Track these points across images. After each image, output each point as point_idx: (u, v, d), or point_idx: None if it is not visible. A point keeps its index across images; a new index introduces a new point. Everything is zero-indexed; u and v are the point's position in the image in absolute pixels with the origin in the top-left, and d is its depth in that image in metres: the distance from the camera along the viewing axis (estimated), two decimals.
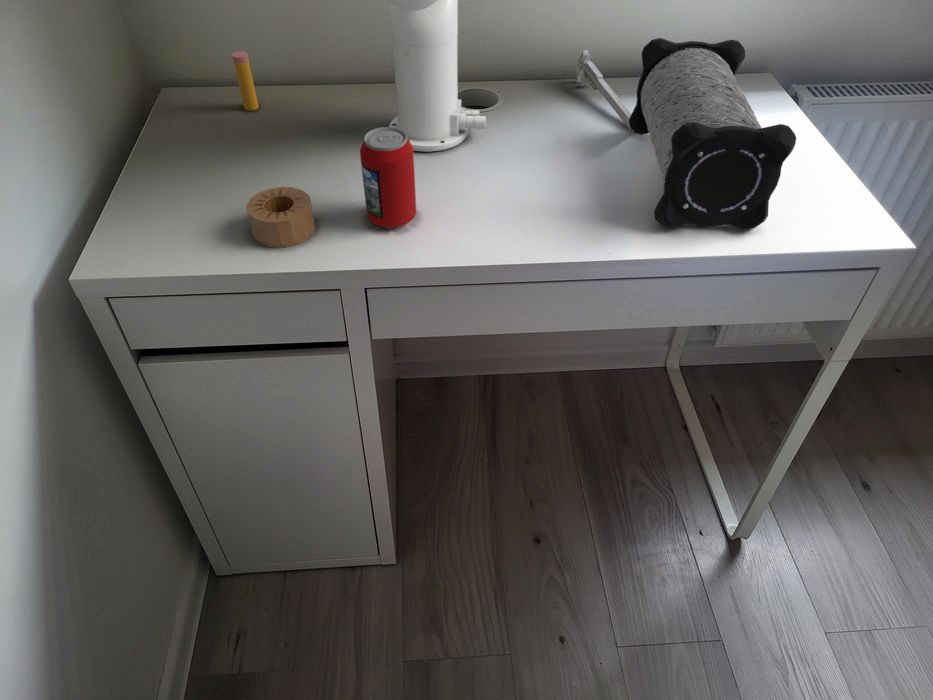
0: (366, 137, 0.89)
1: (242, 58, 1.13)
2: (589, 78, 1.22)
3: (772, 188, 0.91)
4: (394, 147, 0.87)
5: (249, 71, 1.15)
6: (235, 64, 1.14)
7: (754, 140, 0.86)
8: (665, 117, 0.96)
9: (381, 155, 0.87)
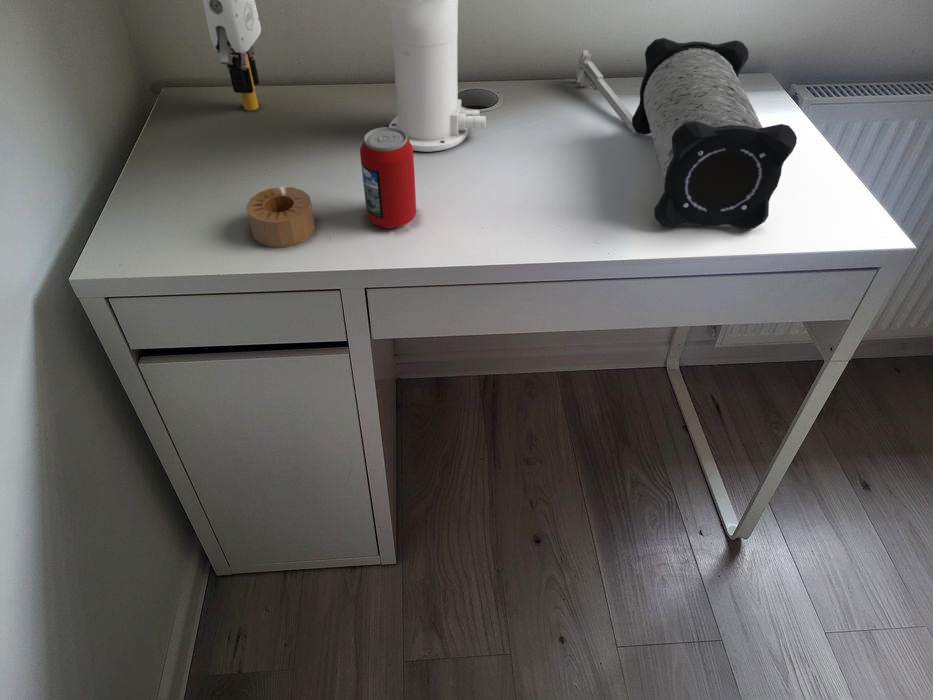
0: (366, 137, 0.89)
1: None
2: (589, 78, 1.22)
3: (772, 188, 0.91)
4: (394, 147, 0.87)
5: None
6: None
7: (754, 139, 0.86)
8: (667, 116, 0.96)
9: (381, 155, 0.87)
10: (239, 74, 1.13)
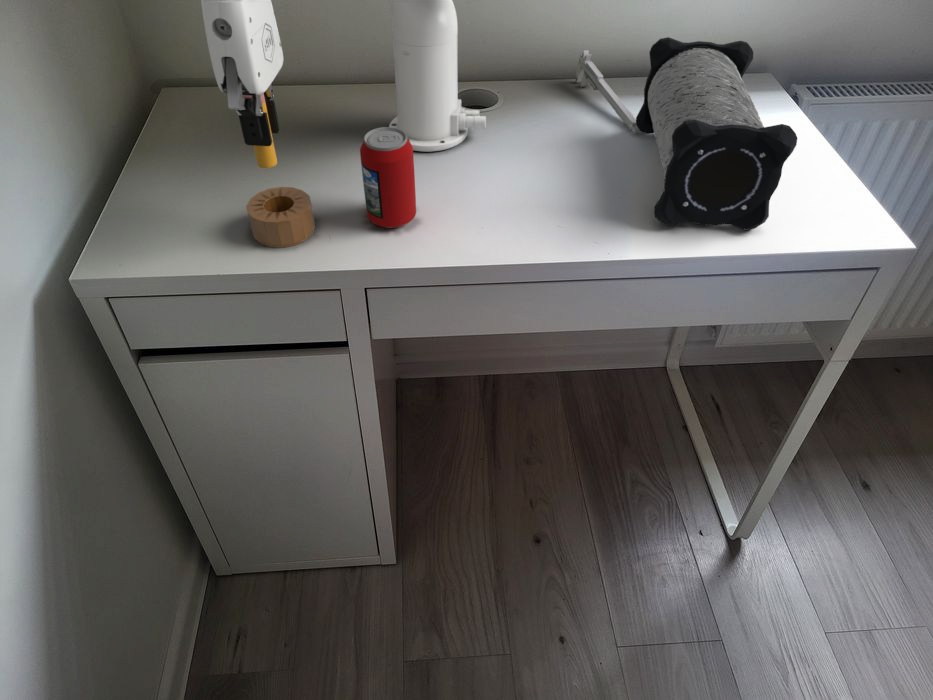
0: (366, 137, 0.89)
1: None
2: (589, 78, 1.22)
3: (773, 188, 0.91)
4: (394, 147, 0.87)
5: None
6: None
7: (754, 139, 0.86)
8: (669, 115, 0.96)
9: (381, 155, 0.87)
10: (253, 121, 0.81)
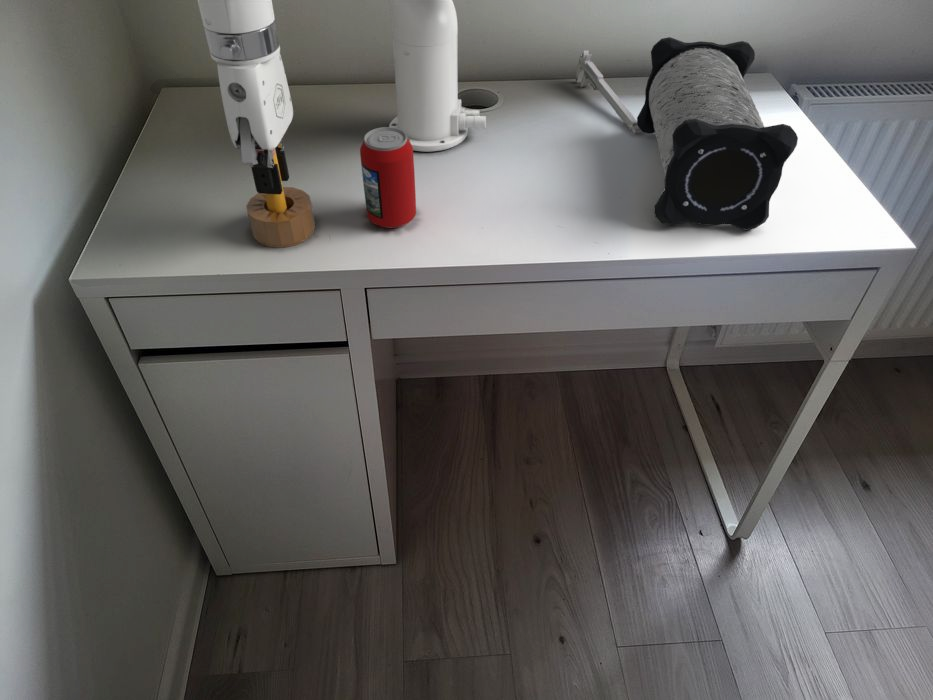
0: (366, 137, 0.89)
1: None
2: (589, 78, 1.22)
3: (773, 188, 0.91)
4: (394, 147, 0.87)
5: None
6: None
7: (755, 138, 0.86)
8: (670, 115, 0.96)
9: (381, 155, 0.87)
10: (265, 172, 0.86)
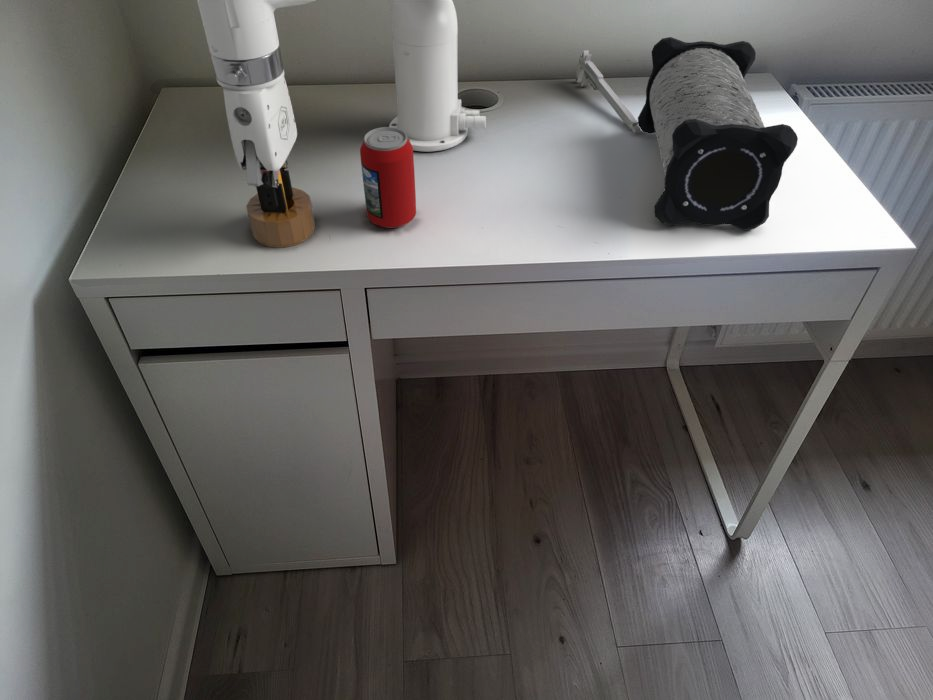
0: (366, 137, 0.89)
1: None
2: (589, 78, 1.22)
3: (773, 189, 0.91)
4: (394, 147, 0.87)
5: None
6: None
7: (754, 139, 0.86)
8: (670, 115, 0.96)
9: (381, 155, 0.87)
10: (269, 192, 0.88)
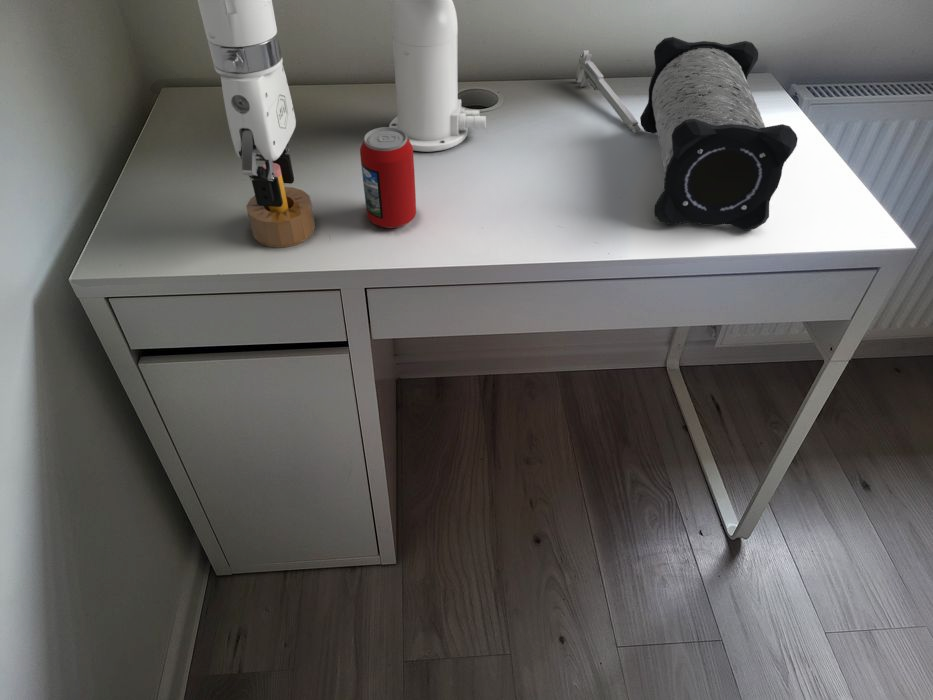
0: (366, 137, 0.89)
1: (274, 173, 0.88)
2: (590, 78, 1.22)
3: (773, 189, 0.90)
4: (394, 147, 0.87)
5: (282, 187, 0.90)
6: None
7: (754, 139, 0.86)
8: (671, 114, 0.96)
9: (381, 155, 0.87)
10: (265, 186, 0.86)
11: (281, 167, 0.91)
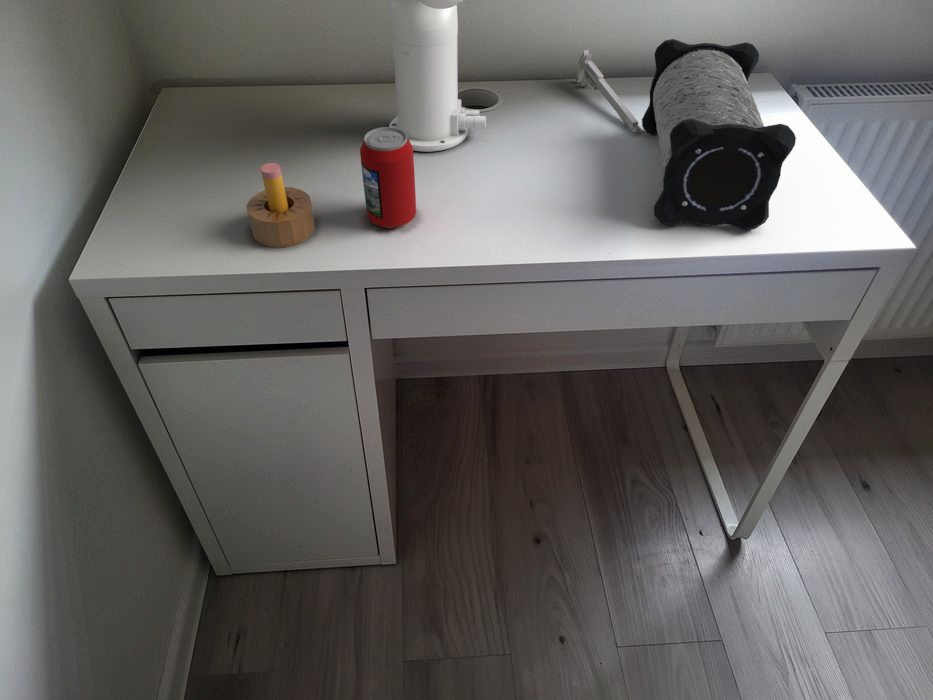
0: (366, 137, 0.89)
1: (274, 173, 0.88)
2: (590, 78, 1.22)
3: (772, 188, 0.90)
4: (394, 147, 0.87)
5: (282, 187, 0.90)
6: (264, 180, 0.89)
7: (752, 138, 0.86)
8: (670, 115, 0.96)
9: (381, 155, 0.87)
10: None
11: None
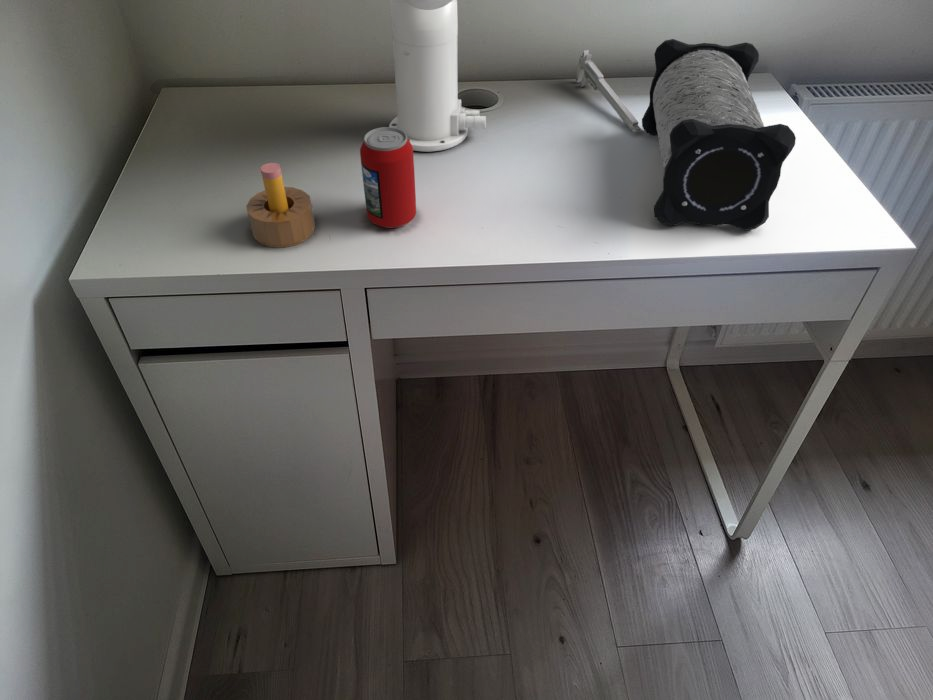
0: (366, 137, 0.89)
1: (274, 173, 0.88)
2: (590, 78, 1.22)
3: (772, 189, 0.91)
4: (394, 147, 0.87)
5: (282, 187, 0.90)
6: (264, 180, 0.89)
7: (752, 138, 0.86)
8: (670, 116, 0.96)
9: (381, 155, 0.87)
10: None
11: None
